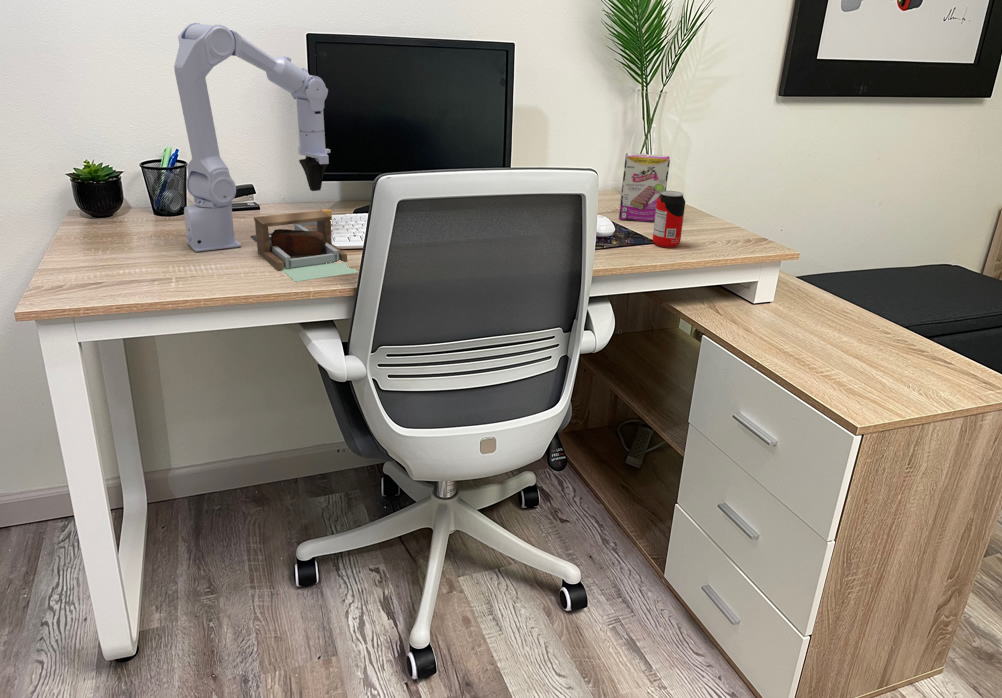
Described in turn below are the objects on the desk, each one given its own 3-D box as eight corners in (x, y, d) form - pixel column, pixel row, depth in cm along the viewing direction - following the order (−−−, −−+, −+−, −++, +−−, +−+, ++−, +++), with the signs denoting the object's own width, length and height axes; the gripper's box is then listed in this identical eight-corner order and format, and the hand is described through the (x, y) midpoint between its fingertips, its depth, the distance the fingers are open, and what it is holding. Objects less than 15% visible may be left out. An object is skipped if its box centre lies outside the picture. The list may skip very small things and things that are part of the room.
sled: (286, 268, 154) (284, 245, 152) (249, 237, 173) (247, 216, 171) (373, 256, 163) (372, 234, 161) (329, 228, 182) (328, 208, 180)
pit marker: (258, 243, 170) (258, 242, 170) (250, 236, 174) (250, 235, 174) (294, 239, 174) (294, 238, 174) (285, 232, 178) (285, 231, 178)
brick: (271, 255, 160) (270, 233, 159) (276, 250, 164) (274, 228, 162) (323, 257, 161) (322, 235, 159) (327, 252, 165) (326, 230, 163)
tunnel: (278, 270, 153) (274, 233, 150) (257, 252, 164) (253, 217, 161) (347, 261, 160) (345, 225, 157) (322, 244, 171) (320, 210, 168)
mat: (295, 282, 147) (295, 281, 147) (278, 268, 155) (278, 267, 155) (359, 273, 154) (359, 272, 154) (340, 259, 161) (340, 258, 161)
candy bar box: (618, 220, 200) (624, 155, 193) (618, 216, 204) (624, 152, 198) (662, 223, 199) (670, 158, 192) (662, 218, 203) (669, 154, 197)
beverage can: (682, 248, 177) (689, 196, 172) (655, 248, 177) (661, 195, 172) (675, 241, 183) (682, 190, 178) (649, 240, 183) (654, 189, 178)
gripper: (340, 134, 174) (343, 194, 179) (317, 125, 185) (320, 182, 190) (309, 135, 170) (313, 197, 176) (288, 127, 181) (292, 185, 187)
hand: (315, 190), depth 183 cm, fingers closed
